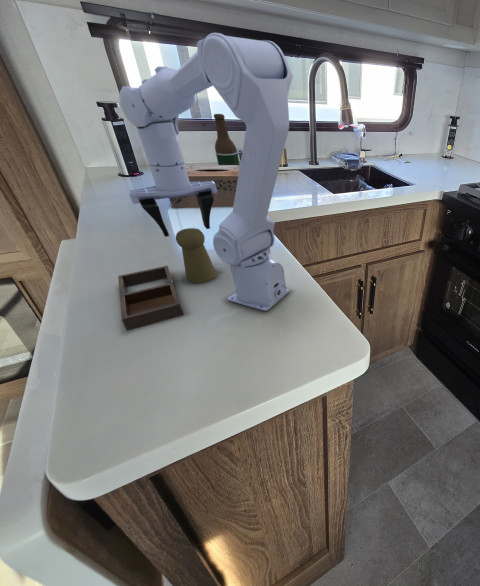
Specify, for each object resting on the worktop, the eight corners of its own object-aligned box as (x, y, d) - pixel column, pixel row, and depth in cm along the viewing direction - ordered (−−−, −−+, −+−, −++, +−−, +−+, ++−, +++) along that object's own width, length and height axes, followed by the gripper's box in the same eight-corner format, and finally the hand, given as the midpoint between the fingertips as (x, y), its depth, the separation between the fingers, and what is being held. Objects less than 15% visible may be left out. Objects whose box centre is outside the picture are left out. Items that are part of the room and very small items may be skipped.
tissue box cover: (259, 192, 124) (255, 165, 119) (256, 205, 113) (251, 175, 107) (183, 194, 118) (174, 165, 113) (172, 208, 107) (162, 176, 101)
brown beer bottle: (246, 180, 135) (234, 114, 122) (230, 184, 130) (215, 116, 116) (234, 177, 139) (221, 112, 125) (217, 181, 133) (202, 113, 120)
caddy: (183, 314, 63) (179, 304, 61) (127, 330, 58) (121, 319, 57) (171, 275, 74) (167, 265, 72) (122, 286, 69) (118, 275, 68)
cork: (208, 267, 78) (196, 222, 71) (221, 276, 75) (209, 230, 68) (181, 276, 74) (165, 230, 67) (194, 286, 71) (179, 239, 64)
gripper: (203, 155, 68) (218, 218, 76) (116, 161, 60) (143, 231, 68) (213, 162, 64) (228, 228, 71) (120, 170, 56) (148, 244, 63)
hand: (187, 230), depth 69 cm, fingers open, 7 cm apart
